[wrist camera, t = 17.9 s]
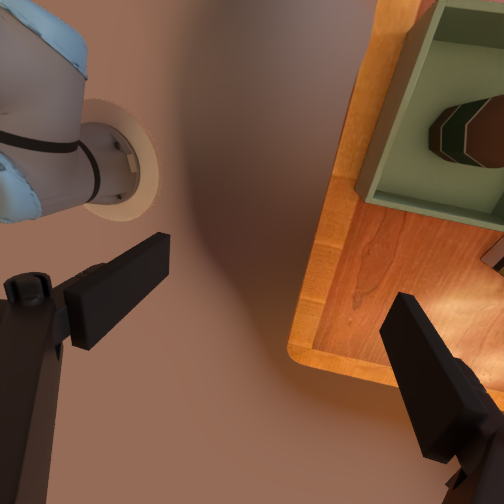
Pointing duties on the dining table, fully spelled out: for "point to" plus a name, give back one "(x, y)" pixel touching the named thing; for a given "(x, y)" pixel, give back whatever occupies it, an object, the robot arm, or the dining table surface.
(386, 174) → the open storage bin
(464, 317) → the dining table surface
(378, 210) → the dining table surface
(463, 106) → the beer bottle
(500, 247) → the tea box
